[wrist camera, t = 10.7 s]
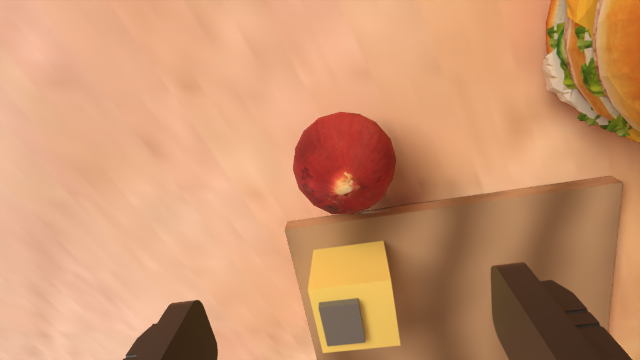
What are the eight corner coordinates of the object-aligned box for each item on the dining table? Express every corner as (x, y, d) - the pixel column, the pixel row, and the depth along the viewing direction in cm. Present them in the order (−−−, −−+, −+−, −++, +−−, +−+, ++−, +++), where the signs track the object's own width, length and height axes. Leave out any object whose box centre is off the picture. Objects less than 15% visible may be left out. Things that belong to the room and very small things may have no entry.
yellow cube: (383, 240, 26) (391, 285, 22) (392, 298, 28) (401, 351, 23) (313, 250, 27) (306, 295, 22) (325, 306, 29) (322, 359, 24)
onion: (360, 199, 27) (367, 263, 19) (286, 163, 26) (263, 216, 18) (403, 126, 24) (429, 167, 17) (324, 86, 24) (315, 110, 16)
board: (610, 175, 25) (623, 182, 24) (592, 377, 31) (601, 389, 30) (287, 221, 28) (284, 230, 26) (330, 398, 34) (330, 411, 33)
